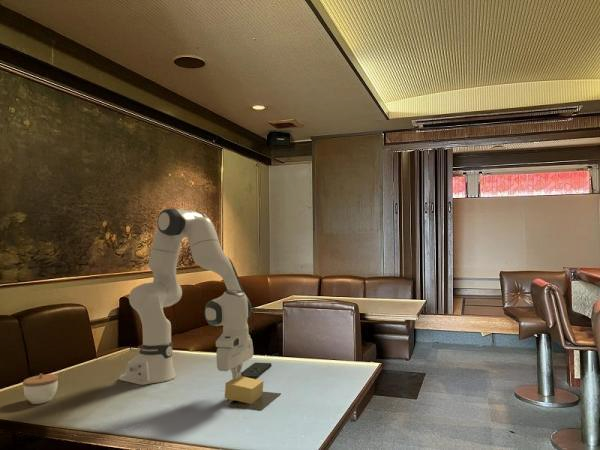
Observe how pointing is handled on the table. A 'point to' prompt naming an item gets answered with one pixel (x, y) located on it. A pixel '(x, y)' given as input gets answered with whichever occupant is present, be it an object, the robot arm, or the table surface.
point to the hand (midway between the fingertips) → (236, 377)
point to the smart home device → (255, 370)
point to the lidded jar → (40, 388)
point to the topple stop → (255, 402)
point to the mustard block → (244, 389)
